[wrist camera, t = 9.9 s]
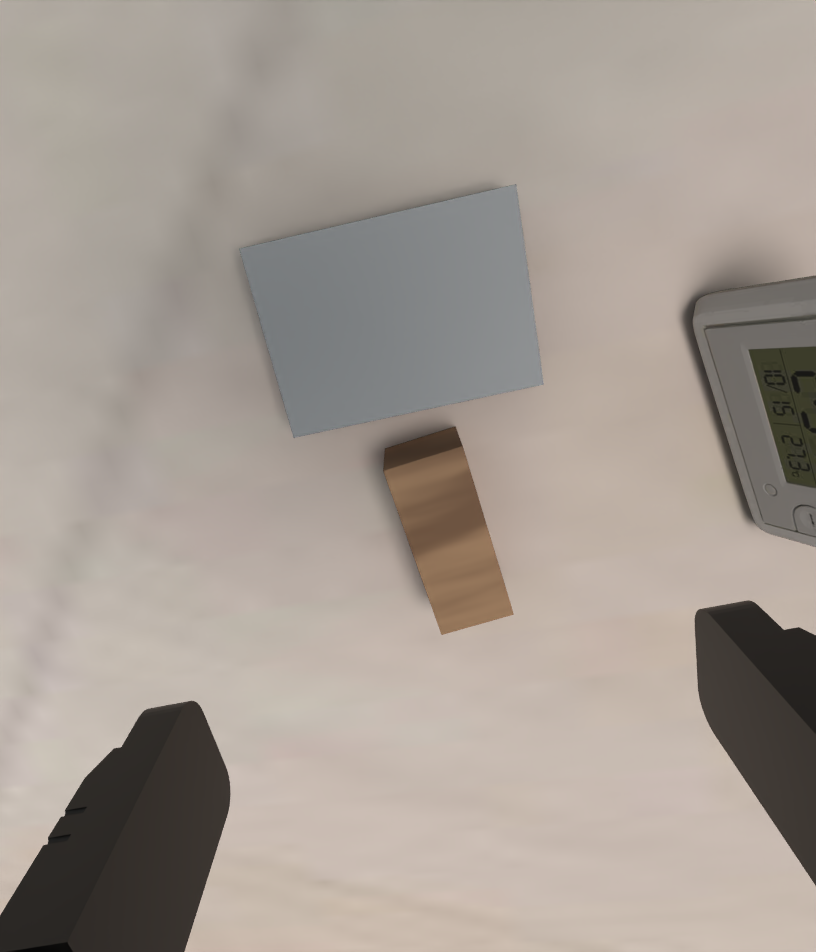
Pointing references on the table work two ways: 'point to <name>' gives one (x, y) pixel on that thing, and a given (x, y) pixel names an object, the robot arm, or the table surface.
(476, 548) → the walnut block
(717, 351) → the digital clock
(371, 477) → the table surface
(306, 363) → the grey board
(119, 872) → the robot arm
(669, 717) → the table surface
